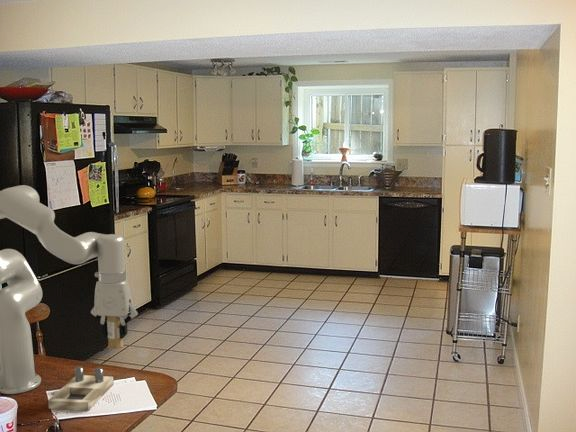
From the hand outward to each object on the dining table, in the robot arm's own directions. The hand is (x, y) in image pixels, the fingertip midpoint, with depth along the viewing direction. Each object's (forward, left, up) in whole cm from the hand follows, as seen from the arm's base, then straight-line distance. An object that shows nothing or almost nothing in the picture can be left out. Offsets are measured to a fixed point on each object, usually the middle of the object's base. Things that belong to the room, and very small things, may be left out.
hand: (115, 335), depth 184 cm
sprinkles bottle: (0, 0, -4) cm, 4 cm away
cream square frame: (-10, -4, -17) cm, 20 cm away
